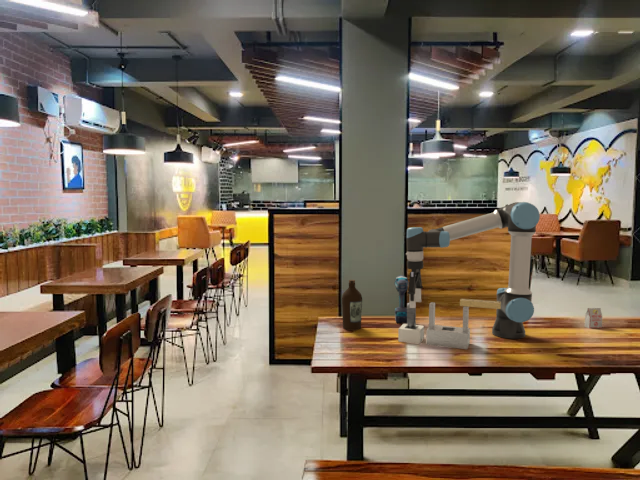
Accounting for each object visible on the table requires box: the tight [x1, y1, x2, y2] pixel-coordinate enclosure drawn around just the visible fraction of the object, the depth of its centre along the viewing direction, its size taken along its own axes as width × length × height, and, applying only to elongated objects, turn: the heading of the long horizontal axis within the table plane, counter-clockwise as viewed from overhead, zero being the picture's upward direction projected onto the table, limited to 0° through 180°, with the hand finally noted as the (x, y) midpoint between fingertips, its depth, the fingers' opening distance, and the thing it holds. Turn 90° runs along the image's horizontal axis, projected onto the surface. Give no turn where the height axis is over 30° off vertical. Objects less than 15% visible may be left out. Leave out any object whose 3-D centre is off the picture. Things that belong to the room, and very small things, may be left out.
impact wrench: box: [393, 274, 409, 324], centre depth 256 cm, size 8×23×25 cm, turn 174°
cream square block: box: [397, 323, 425, 345], centre depth 222 cm, size 10×10×6 cm
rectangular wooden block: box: [459, 298, 501, 310], centre depth 208 cm, size 17×4×2 cm, turn 67°
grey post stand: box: [425, 301, 471, 350], centre depth 214 cm, size 18×10×18 cm, turn 67°
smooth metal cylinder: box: [406, 302, 417, 329], centre depth 221 cm, size 4×4×16 cm
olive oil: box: [341, 279, 363, 331], centre depth 242 cm, size 11×11×25 cm
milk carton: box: [584, 307, 603, 329], centre depth 243 cm, size 4×7×10 cm, turn 94°
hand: (415, 304), depth 222 cm, fingers open, 13 cm apart
